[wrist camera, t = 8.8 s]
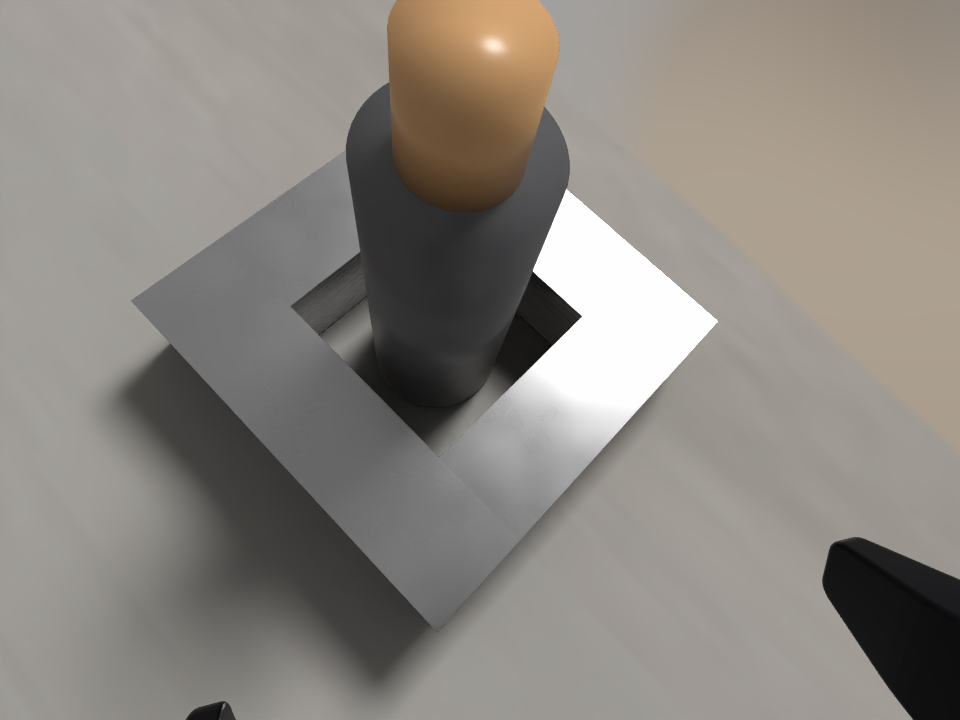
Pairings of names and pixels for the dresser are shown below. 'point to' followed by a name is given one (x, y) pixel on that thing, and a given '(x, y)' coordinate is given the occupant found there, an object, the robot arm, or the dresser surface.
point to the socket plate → (375, 426)
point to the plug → (455, 187)
